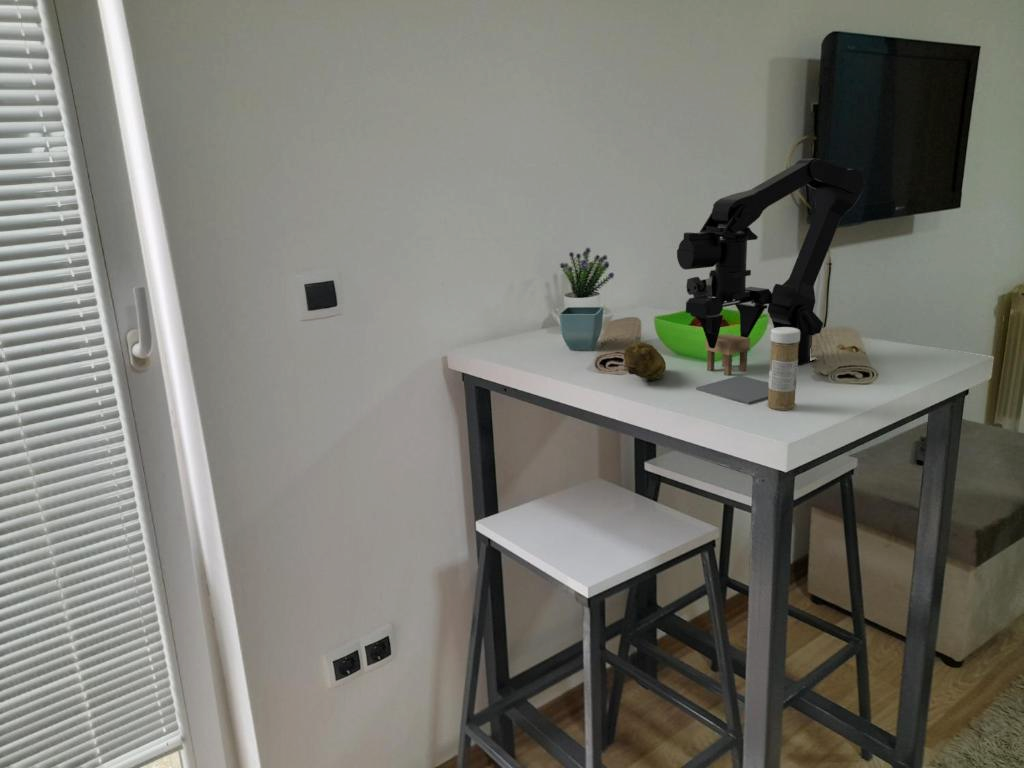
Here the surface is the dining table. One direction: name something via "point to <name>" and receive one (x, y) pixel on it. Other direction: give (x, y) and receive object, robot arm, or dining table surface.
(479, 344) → the dining table surface
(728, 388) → the mat
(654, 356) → the potato
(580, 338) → the flower pot
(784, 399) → the spice jar
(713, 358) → the stool
